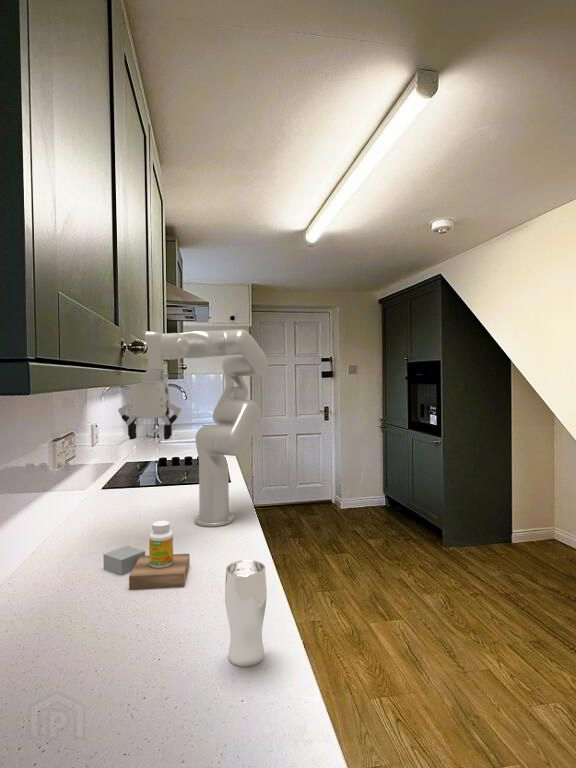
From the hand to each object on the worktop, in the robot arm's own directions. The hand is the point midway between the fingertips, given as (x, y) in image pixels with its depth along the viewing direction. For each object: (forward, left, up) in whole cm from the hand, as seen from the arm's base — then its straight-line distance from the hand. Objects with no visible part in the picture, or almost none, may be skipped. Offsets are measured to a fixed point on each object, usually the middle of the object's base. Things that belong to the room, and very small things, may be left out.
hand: (150, 438), depth 128 cm
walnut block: (+18, +9, -30) cm, 36 cm away
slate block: (+13, -2, -31) cm, 33 cm away
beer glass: (+48, +34, -31) cm, 66 cm away
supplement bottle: (+18, +9, -28) cm, 34 cm away
